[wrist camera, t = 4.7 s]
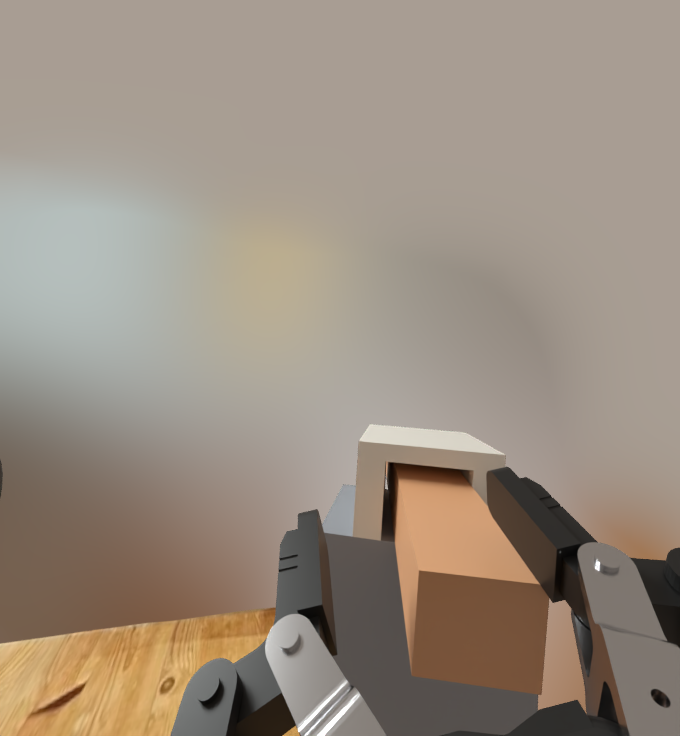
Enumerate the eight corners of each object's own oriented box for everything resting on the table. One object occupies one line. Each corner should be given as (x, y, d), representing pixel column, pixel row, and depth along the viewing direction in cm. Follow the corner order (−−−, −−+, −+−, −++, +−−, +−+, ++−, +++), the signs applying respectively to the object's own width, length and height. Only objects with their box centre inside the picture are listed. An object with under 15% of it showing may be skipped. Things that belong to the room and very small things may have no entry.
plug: (411, 675, 11) (418, 570, 11) (384, 463, 33) (387, 428, 33) (541, 695, 10) (550, 585, 10) (426, 467, 32) (428, 431, 32)
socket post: (275, 1137, 17) (324, 438, 20) (317, 868, 27) (347, 422, 29) (520, 1247, 16) (545, 458, 18) (470, 915, 25) (490, 434, 28)
